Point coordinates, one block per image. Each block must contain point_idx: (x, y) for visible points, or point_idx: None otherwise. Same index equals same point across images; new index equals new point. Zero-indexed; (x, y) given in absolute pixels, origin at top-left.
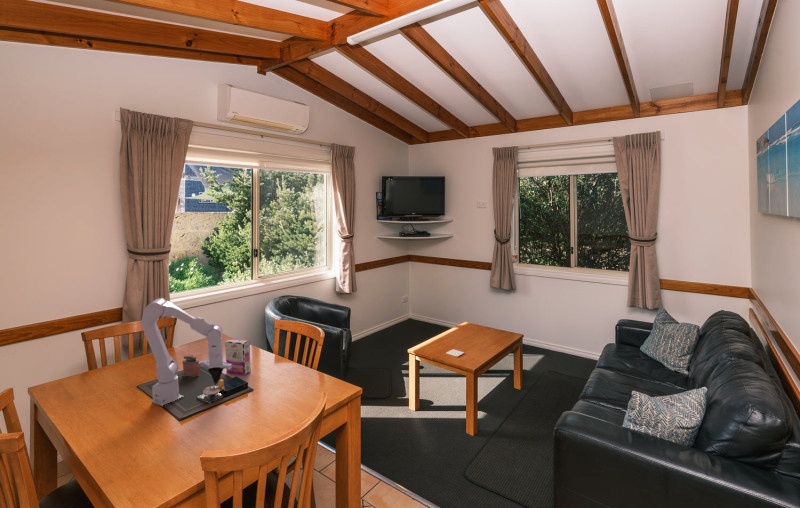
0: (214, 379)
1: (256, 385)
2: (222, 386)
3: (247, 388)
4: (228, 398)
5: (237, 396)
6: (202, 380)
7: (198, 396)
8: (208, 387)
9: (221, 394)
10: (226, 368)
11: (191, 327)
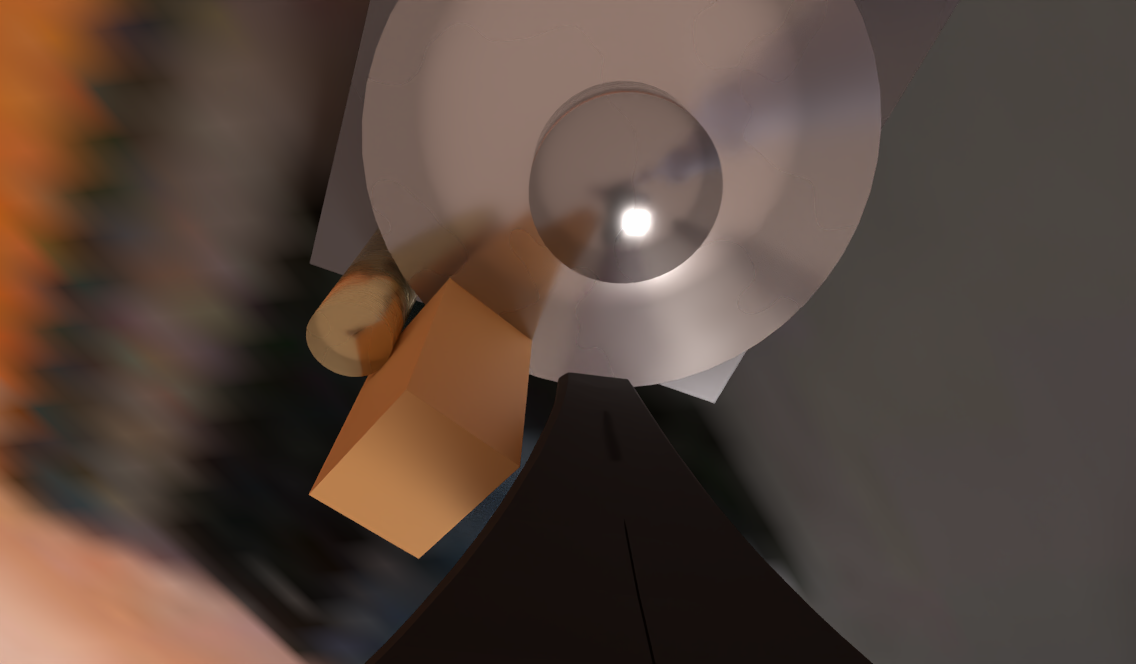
0: (608, 453)
1: (100, 610)
2: (329, 306)
3: (160, 520)
4: (196, 113)
5: (78, 228)
6: (1068, 652)
7: (937, 4)
8: (786, 277)
9: None
10: None
11: None
